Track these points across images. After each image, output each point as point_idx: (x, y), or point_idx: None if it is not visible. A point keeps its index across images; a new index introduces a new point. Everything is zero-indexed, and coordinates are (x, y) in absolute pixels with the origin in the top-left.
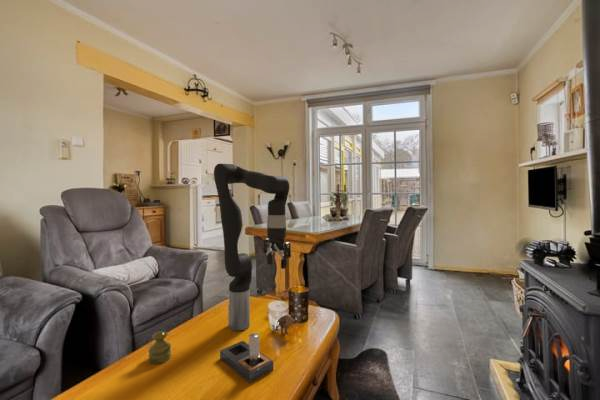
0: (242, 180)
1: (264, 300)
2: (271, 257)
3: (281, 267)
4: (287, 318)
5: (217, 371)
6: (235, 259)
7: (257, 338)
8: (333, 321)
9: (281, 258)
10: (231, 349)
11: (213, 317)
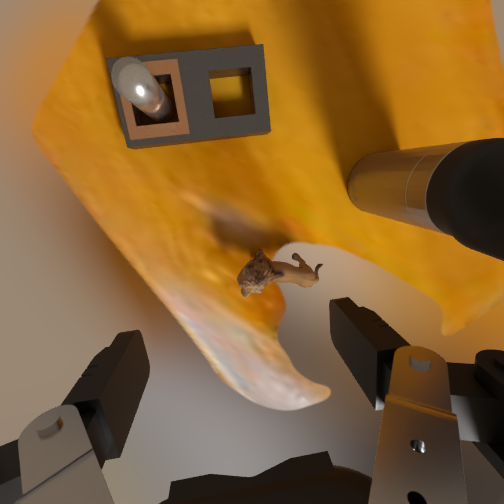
0: None
1: (455, 317)
2: (360, 375)
3: (125, 334)
4: (245, 277)
5: (207, 18)
6: None
7: (112, 82)
8: (235, 389)
9: (69, 411)
10: (252, 81)
11: None
